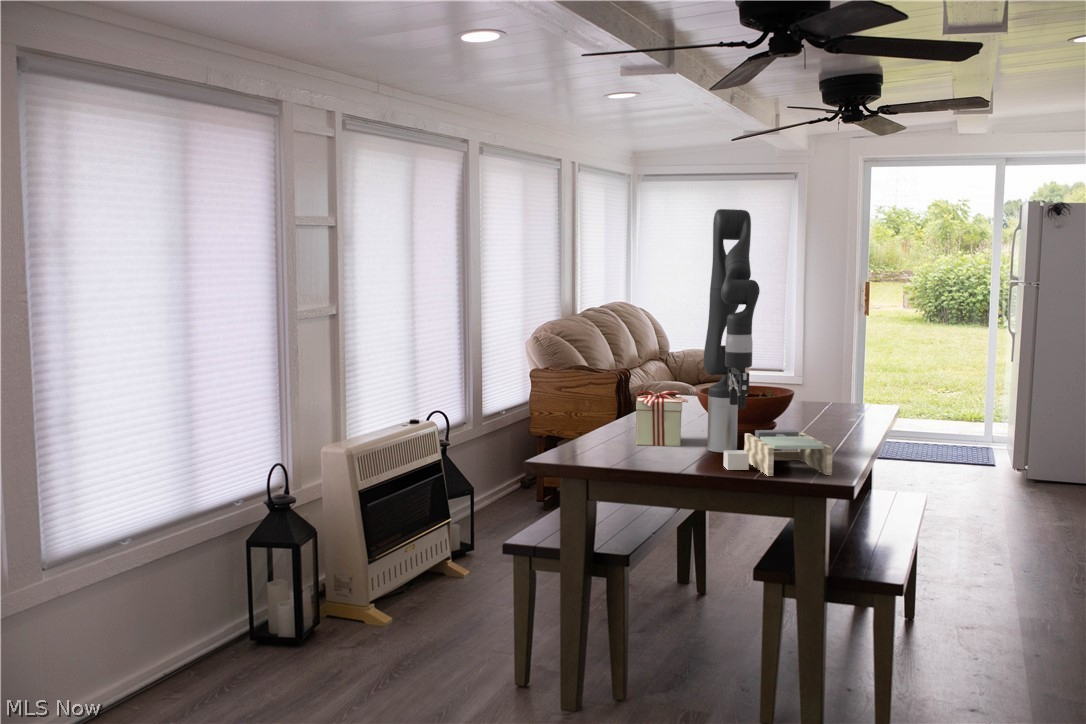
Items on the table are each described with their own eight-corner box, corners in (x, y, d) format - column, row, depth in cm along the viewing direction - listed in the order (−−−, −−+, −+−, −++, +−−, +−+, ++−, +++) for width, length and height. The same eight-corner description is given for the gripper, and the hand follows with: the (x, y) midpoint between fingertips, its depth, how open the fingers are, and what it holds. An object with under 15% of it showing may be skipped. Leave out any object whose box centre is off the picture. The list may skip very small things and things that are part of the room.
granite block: (723, 467, 274) (723, 450, 273) (743, 467, 274) (744, 450, 274) (727, 471, 269) (728, 453, 268) (748, 470, 269) (748, 453, 269)
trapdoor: (751, 443, 284) (751, 430, 284) (797, 443, 285) (797, 429, 284) (774, 458, 262) (774, 443, 261) (823, 457, 263) (824, 443, 262)
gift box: (636, 447, 304) (637, 394, 302) (632, 437, 322) (633, 387, 320) (689, 448, 303) (690, 394, 301) (683, 438, 321) (684, 387, 320)
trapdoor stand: (744, 459, 285) (744, 433, 284) (802, 459, 286) (803, 432, 285) (767, 476, 261) (768, 448, 260) (831, 476, 262) (832, 447, 261)
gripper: (759, 352, 262) (757, 410, 263) (744, 348, 276) (743, 403, 277) (732, 352, 261) (731, 410, 263) (719, 348, 275) (718, 403, 277)
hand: (737, 406), depth 270 cm, fingers open, 8 cm apart
